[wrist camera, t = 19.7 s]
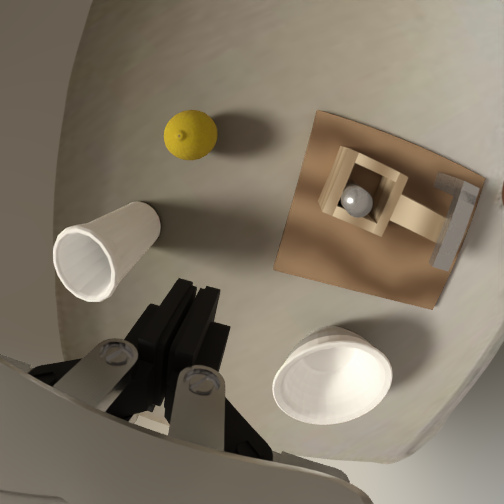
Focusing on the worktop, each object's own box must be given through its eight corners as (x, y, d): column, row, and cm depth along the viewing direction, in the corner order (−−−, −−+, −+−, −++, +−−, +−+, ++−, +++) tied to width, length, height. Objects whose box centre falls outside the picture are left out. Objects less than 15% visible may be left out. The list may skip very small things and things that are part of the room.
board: (317, 110, 33) (318, 110, 32) (480, 176, 33) (485, 178, 32) (273, 265, 41) (273, 269, 39) (429, 305, 40) (432, 309, 39)
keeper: (437, 171, 32) (464, 180, 26) (452, 178, 32) (479, 188, 26) (412, 245, 36) (432, 266, 30) (426, 250, 36) (448, 271, 30)
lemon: (170, 129, 35) (143, 130, 28) (207, 103, 34) (187, 96, 26) (194, 165, 37) (172, 174, 29) (232, 140, 35) (218, 142, 28)
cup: (105, 220, 41) (41, 260, 27) (139, 181, 38) (75, 209, 25) (142, 262, 42) (91, 316, 29) (180, 226, 40) (132, 274, 27)
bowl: (332, 397, 48) (336, 436, 41) (254, 358, 47) (248, 398, 39) (399, 335, 43) (416, 372, 35) (320, 283, 41) (327, 319, 33)
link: (317, 201, 36) (322, 211, 31) (340, 145, 33) (349, 148, 28) (432, 252, 36) (448, 268, 32) (454, 205, 34) (474, 215, 29)
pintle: (337, 175, 34) (349, 185, 28) (360, 182, 34) (376, 193, 28) (330, 197, 35) (340, 212, 29) (353, 204, 35) (367, 221, 29)
